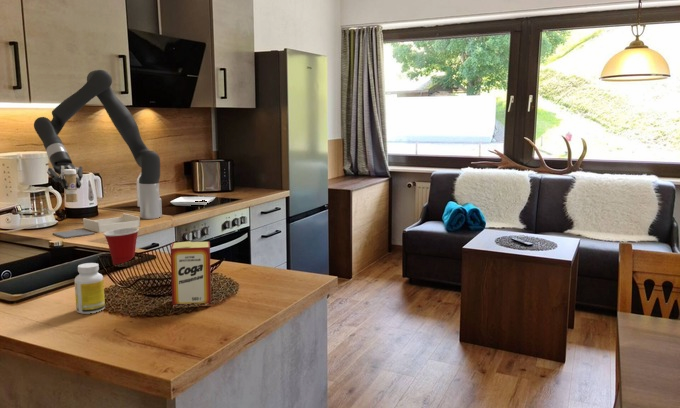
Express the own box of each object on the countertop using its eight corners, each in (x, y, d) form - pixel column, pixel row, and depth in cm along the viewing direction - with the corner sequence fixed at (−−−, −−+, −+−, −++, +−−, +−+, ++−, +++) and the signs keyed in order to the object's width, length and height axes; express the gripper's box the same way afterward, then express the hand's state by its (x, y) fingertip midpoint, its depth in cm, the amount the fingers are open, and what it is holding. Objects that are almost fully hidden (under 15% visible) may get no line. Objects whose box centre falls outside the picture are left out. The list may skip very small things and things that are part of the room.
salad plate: (169, 207, 300) (169, 201, 300) (181, 201, 321) (180, 196, 321) (206, 207, 300) (206, 201, 300) (215, 202, 321) (215, 196, 321)
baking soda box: (211, 298, 143) (209, 240, 140) (211, 306, 136) (209, 245, 134) (174, 300, 140) (172, 241, 138) (172, 308, 134) (170, 247, 132)
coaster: (82, 230, 230) (81, 229, 230) (94, 234, 222) (94, 232, 222) (52, 234, 221) (52, 232, 221) (65, 238, 213) (65, 237, 213)
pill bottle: (109, 310, 132) (107, 265, 131) (83, 317, 128) (80, 270, 126) (98, 304, 137) (95, 260, 135) (72, 310, 132) (69, 265, 130)
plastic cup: (111, 262, 178) (109, 226, 177) (144, 261, 179) (142, 226, 178) (99, 270, 168) (97, 233, 166) (135, 270, 169) (133, 233, 167)
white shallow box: (124, 222, 249) (124, 213, 248) (140, 226, 240) (139, 216, 239) (83, 228, 234) (83, 218, 234) (98, 232, 225) (98, 222, 225)
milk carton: (149, 207, 295) (147, 173, 292) (137, 207, 296) (136, 173, 293) (155, 205, 302) (154, 172, 299) (144, 205, 303) (143, 172, 300)
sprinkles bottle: (70, 202, 217) (68, 170, 215) (63, 201, 219) (61, 169, 217) (80, 201, 221) (78, 169, 219) (73, 200, 223) (71, 168, 221)
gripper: (42, 151, 216) (57, 183, 210) (78, 150, 227) (93, 180, 221) (38, 163, 220) (52, 195, 214) (73, 161, 231) (87, 192, 225)
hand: (72, 187), depth 218 cm, fingers closed on sprinkles bottle, 4 cm apart
